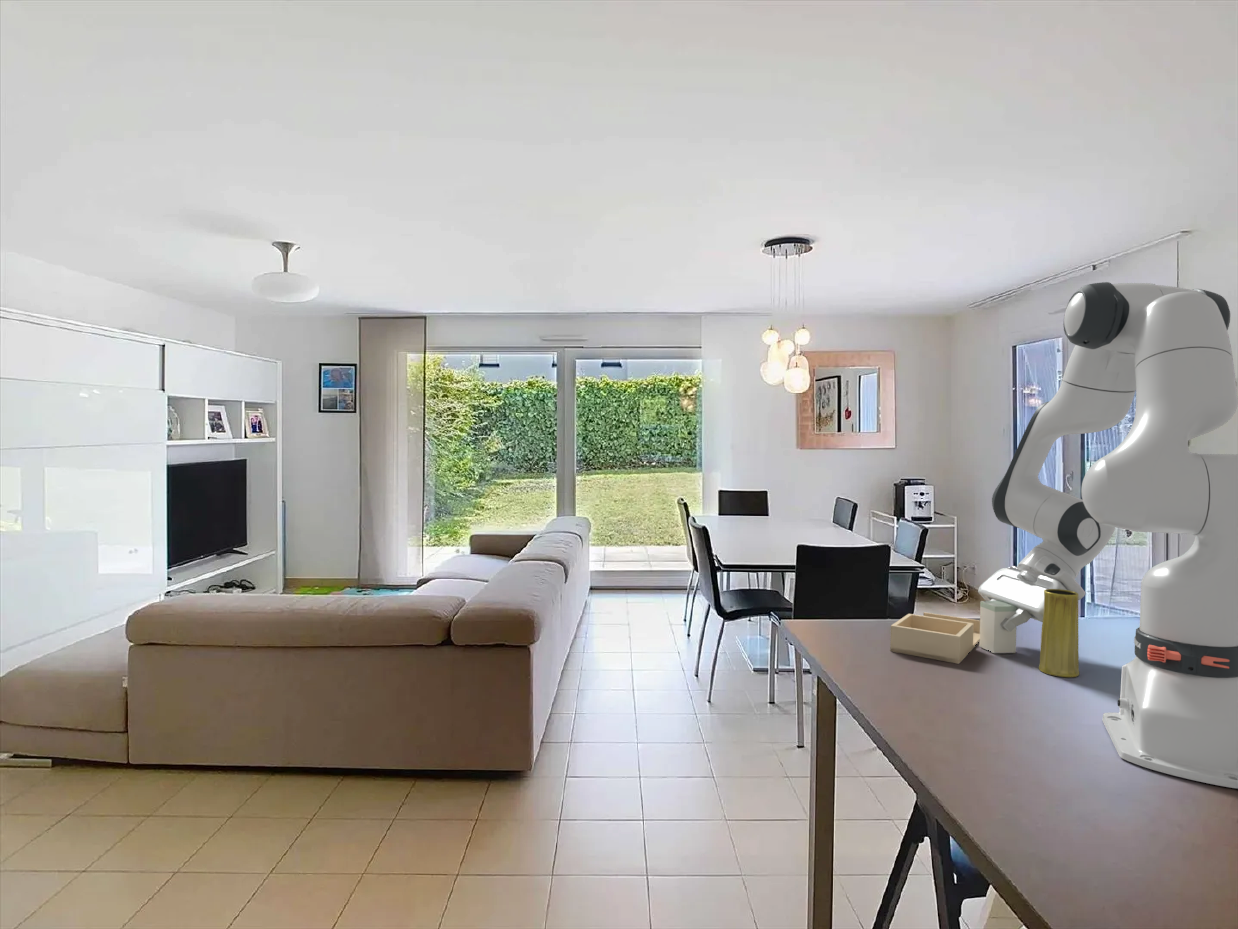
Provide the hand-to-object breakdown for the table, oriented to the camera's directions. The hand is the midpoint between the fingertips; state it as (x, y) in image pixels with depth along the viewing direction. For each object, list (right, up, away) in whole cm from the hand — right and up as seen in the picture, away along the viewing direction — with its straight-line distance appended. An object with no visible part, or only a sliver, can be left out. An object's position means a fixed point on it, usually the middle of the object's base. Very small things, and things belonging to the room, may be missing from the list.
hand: (994, 624), depth 137 cm
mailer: (-8, -5, +5) cm, 11 cm away
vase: (+4, -6, -13) cm, 15 cm away
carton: (+1, -5, 0) cm, 5 cm away
